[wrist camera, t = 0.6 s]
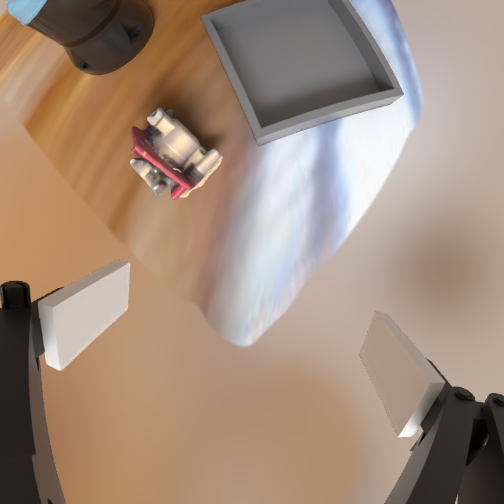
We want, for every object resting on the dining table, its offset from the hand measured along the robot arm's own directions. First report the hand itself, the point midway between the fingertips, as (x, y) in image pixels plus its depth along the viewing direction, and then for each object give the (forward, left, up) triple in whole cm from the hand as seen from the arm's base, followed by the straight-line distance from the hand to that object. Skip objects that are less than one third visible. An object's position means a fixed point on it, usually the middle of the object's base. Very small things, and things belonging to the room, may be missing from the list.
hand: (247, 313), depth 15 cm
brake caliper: (-15, -7, -25) cm, 30 cm away
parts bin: (-22, +14, -25) cm, 36 cm away
